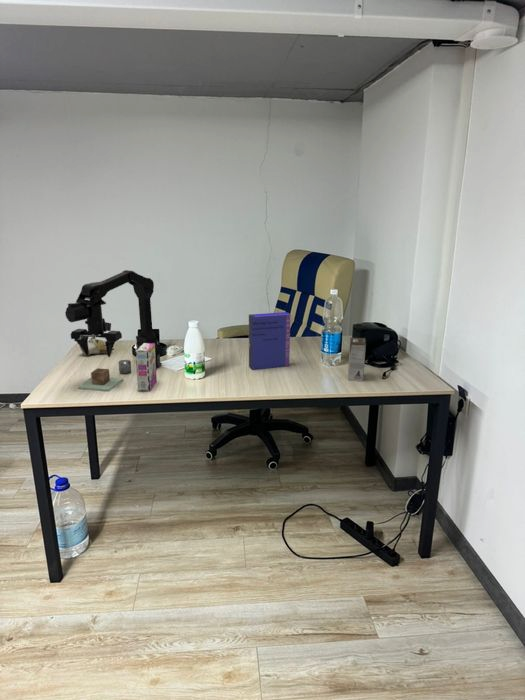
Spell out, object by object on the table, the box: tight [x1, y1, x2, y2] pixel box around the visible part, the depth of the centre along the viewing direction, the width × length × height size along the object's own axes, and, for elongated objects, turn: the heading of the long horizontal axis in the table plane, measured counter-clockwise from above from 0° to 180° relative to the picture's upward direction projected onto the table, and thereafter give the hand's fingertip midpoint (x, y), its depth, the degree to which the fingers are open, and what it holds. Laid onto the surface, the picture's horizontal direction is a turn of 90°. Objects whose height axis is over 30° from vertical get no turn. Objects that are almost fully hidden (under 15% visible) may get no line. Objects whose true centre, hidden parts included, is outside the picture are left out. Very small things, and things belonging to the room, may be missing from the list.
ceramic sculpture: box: [79, 337, 115, 357], centre depth 226 cm, size 11×9×15 cm
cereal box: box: [248, 311, 291, 371], centre depth 207 cm, size 17×5×24 cm, turn 108°
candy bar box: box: [135, 343, 158, 392], centre depth 184 cm, size 11×5×16 cm, turn 178°
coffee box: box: [347, 337, 367, 382], centre depth 195 cm, size 9×6×16 cm
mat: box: [77, 377, 124, 392], centre depth 188 cm, size 13×12×1 cm
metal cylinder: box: [118, 359, 133, 376], centre depth 201 cm, size 5×5×5 cm
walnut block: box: [90, 368, 111, 385], centre depth 187 cm, size 5×5×5 cm
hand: (98, 356), depth 185 cm, fingers open, 9 cm apart
